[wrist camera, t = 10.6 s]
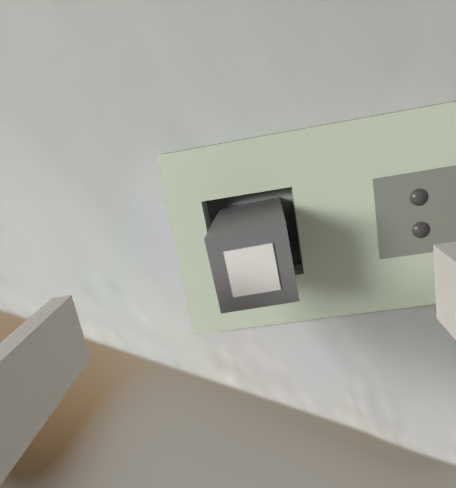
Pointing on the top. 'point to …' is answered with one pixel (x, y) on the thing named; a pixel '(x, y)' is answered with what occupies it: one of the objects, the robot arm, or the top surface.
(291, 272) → the block
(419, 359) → the top surface
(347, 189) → the outlet plate
